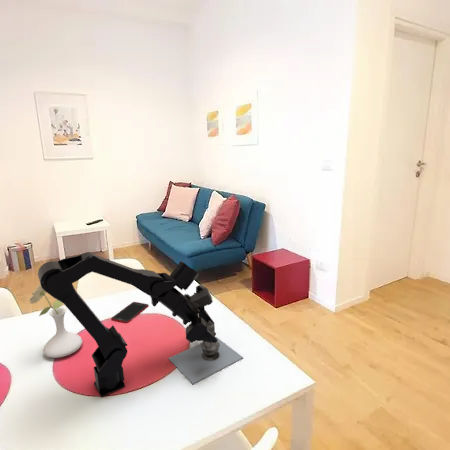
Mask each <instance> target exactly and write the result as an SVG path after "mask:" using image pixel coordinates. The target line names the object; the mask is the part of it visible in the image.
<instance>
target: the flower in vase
mask: <svg viewBox="0 0 450 450" xmlns="http://www.w3.org/2000/svg"><path fill="white" fill-rule="evenodd" d="M46 294H47V292H46V291H44V290H43V289H42V287H41V284H40V283H39V284H38V285H37V286H36V287H35V290H34V291H32V292H31V296H30V298H29V300H28V302H29V304H30V305H31V304H37V302H39V301H40V300H41V299H43V297H44V298H45V299H46V301H47V302H48V304H49V306H47V307H44V308H43V309H42V310H41V311H40V313H39V315H38V316H39V317H40V316H42V315H45V314H47V313H48V315H49V316H51V317H52V319H53V320H54V323H55V327H56V333H55V334H54V335H53V336H52V337H51V338H49V340H48V341H47V342H46V343H45V344H44V345H43V349H42V352H43V354H44V355H45V356H46V357H48V358H55V359H57V358H63V357H66V356H69V355H71V354H73V353H76V352H77V350H79V349H80V347H81V346H82V345H83V339H82V337H81V336H80V335H79V334H77V333H74V332H72V331H71V332H70V331H68V330H66V328H65V322H64V321H65V320H64V318H65V314H66V312H67V311H68V310H67V309H68V308H67V307H62V306H63V303H62V302H61V301H59V300H57V299H55V300H56V301H54V302H53V303H52V304H51V302H50V300H49V299H48V296H46ZM51 308H52V309H51ZM50 309H51V310H50Z"/></svg>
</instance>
